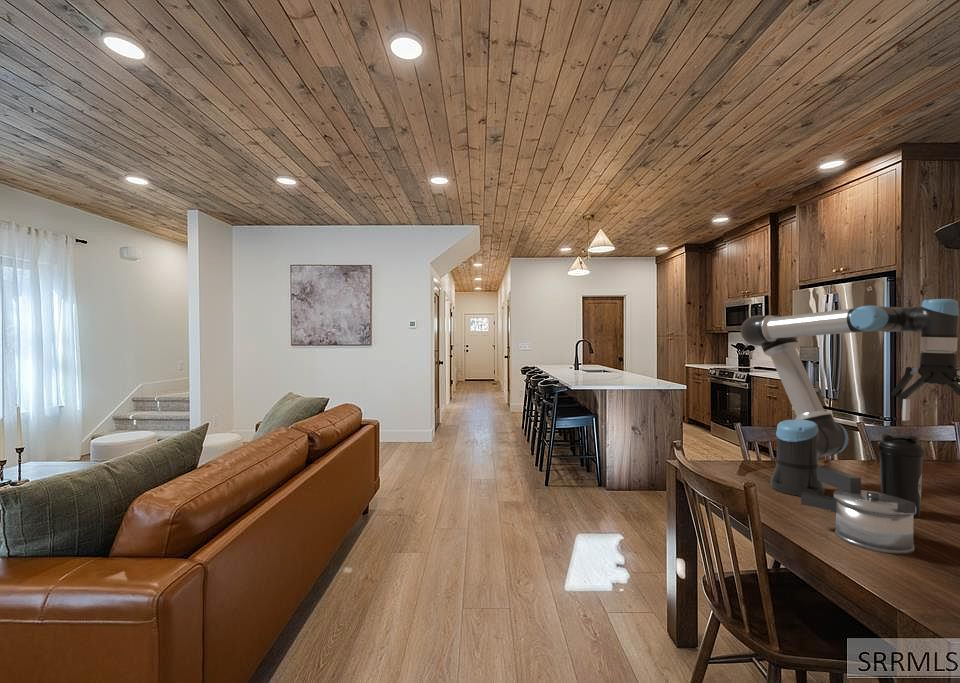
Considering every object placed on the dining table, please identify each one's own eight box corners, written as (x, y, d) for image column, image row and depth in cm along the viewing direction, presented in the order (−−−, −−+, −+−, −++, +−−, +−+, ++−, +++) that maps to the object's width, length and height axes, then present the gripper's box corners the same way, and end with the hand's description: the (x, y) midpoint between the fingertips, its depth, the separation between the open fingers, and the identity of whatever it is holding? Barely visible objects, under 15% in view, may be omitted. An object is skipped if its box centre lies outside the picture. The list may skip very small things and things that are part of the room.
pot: (912, 539, 117) (912, 504, 117) (916, 560, 105) (916, 522, 105) (804, 516, 132) (805, 485, 132) (797, 533, 120) (798, 499, 120)
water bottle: (928, 521, 129) (929, 440, 129) (881, 514, 134) (881, 436, 134) (918, 510, 137) (918, 434, 137) (874, 503, 143) (874, 430, 143)
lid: (941, 517, 107) (941, 495, 107) (878, 519, 106) (878, 496, 106) (847, 483, 133) (848, 466, 133) (795, 484, 132) (796, 466, 132)
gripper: (1006, 354, 123) (1003, 432, 123) (891, 350, 145) (889, 416, 146) (995, 354, 120) (991, 434, 120) (879, 350, 142) (876, 417, 143)
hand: (935, 424), depth 133 cm, fingers open, 13 cm apart
